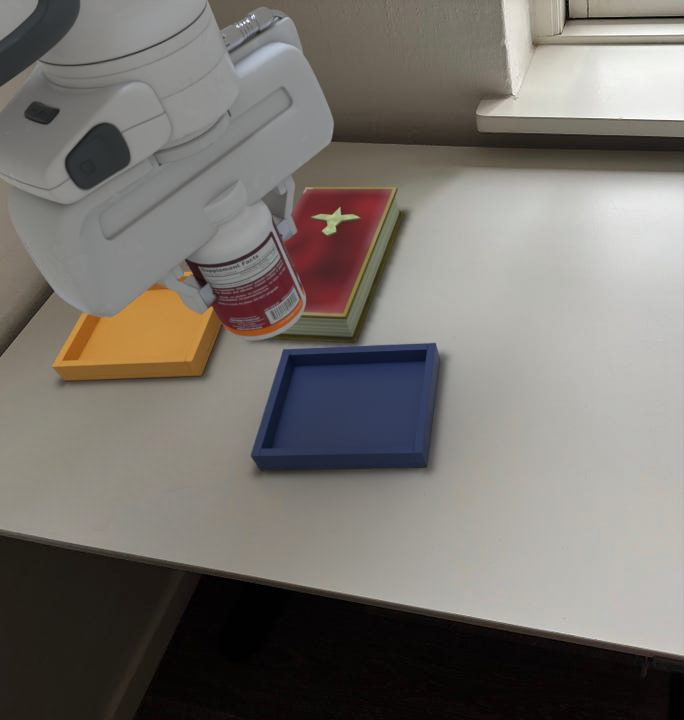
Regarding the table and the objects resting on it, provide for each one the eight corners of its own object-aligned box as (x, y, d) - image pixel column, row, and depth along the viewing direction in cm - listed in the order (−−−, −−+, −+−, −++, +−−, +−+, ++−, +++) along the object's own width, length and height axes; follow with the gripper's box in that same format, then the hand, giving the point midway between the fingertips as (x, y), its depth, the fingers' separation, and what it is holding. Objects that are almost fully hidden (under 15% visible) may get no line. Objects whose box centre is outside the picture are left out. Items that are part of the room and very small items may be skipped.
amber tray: (64, 381, 76) (51, 366, 74) (113, 290, 85) (102, 276, 83) (201, 375, 74) (191, 360, 72) (237, 284, 83) (229, 268, 81)
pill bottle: (232, 287, 54) (165, 162, 45) (312, 277, 53) (260, 149, 45) (216, 349, 50) (140, 224, 41) (303, 338, 49) (244, 210, 41)
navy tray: (259, 470, 66) (250, 456, 64) (290, 364, 74) (283, 349, 72) (426, 467, 63) (421, 452, 62) (440, 358, 72) (436, 342, 70)
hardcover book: (250, 337, 77) (235, 310, 74) (312, 212, 90) (302, 184, 87) (355, 342, 74) (344, 314, 71) (404, 213, 87) (396, 184, 84)
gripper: (246, -14, 44) (313, 174, 55) (-57, 165, 34) (95, 353, 45) (320, 0, 42) (375, 195, 52) (14, 199, 32) (158, 391, 42)
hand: (244, 270), depth 48 cm, fingers closed on pill bottle, 6 cm apart
